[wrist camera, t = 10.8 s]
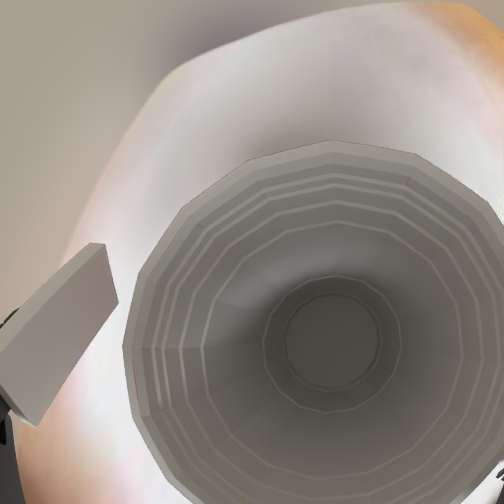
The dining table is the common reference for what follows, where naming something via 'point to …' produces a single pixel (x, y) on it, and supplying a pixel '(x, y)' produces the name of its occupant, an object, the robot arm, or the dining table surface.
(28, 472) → the dining table surface
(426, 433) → the plastic cup
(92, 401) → the dining table surface
